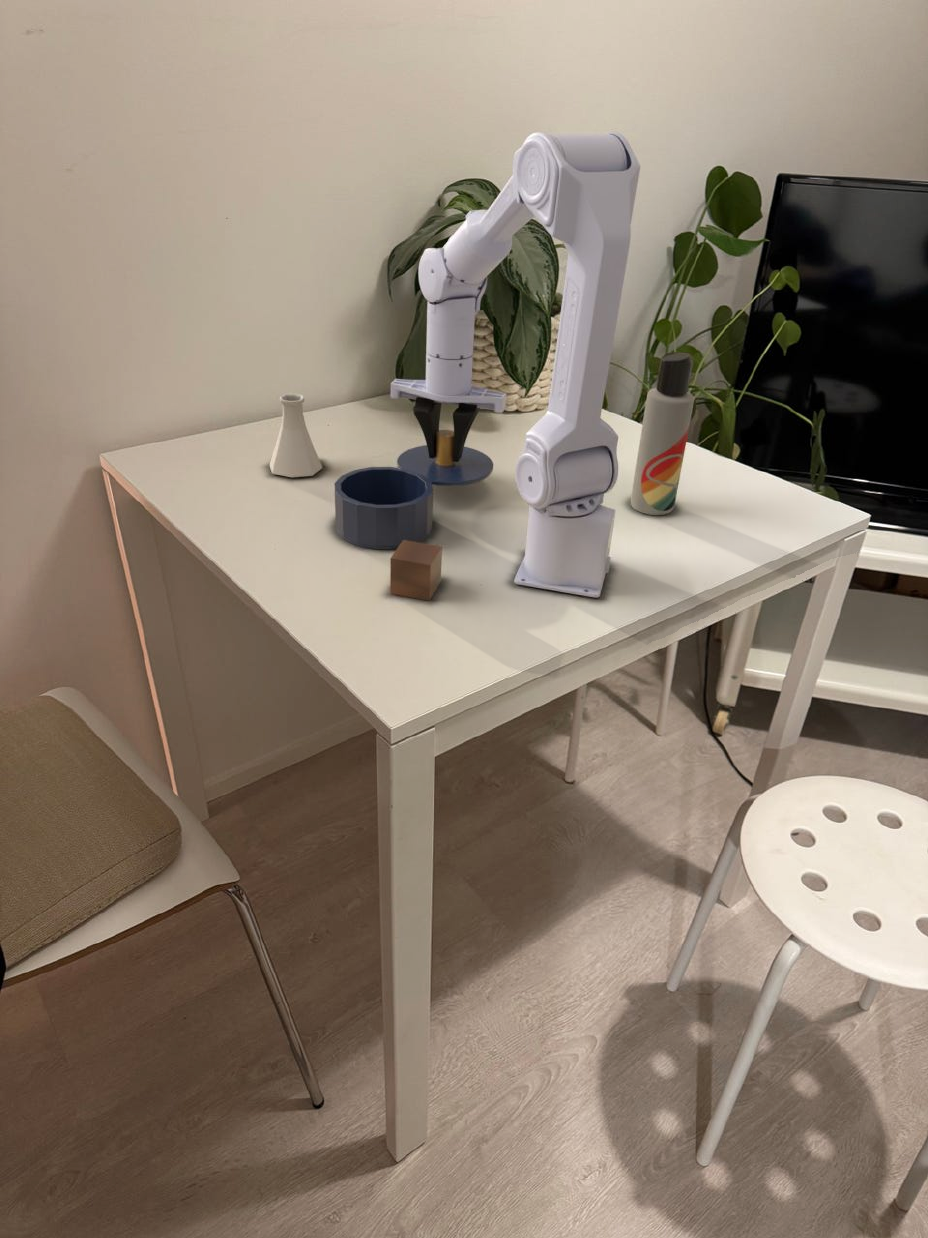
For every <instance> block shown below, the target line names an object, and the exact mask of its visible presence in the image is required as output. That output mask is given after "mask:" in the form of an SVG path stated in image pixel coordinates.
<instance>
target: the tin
mask: <svg viewBox="0 0 928 1238" xmlns="http://www.w3.org/2000/svg"><path fill="white" fill-rule="evenodd" d="M333 486H334V514H335V530H336V533H337V534H338V536H339V537H340V538H341V539H343V540H344V541H345V542H346V543H347V542H348V543H349V544H350V545H351V544H352V545H354V546H356V547H360V548H365V549H372V550H397V548H398V547H399V545H400V544H401V543H402V541H403V540H407V541H413V542H419V543H422V542H423V541H425V540H426V539H427V538H428V537H429V536H430V534H431V532H432V528H433V519H434V518H433V517H434V516H433V513H434V488H433V487H434V485H432V482H431V481H430V480H428V479H427V478H426V477H425V476H423V475H422V474H419V473H417V472H414V471H411V470H408V469H402V468H398V467H395V466H369V467H363V468H359V469H354V470H352V471H349V472H347V473H344V474H341V476H340V477H339V478H338V479H336V480H335V482H334V484H333Z"/></svg>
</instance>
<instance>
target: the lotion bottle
mask: <svg viewBox="0 0 928 1238" xmlns="http://www.w3.org/2000/svg"><path fill="white" fill-rule="evenodd" d="M693 364H694V361H693V359H692V355H691V354H690V353H686V352H668V353H665V354H663V355H662V356H661V358H660V362H659V369H658V376H657V380H656V381H657V382H656V387H655V388H651V389H649V390H648V392H647V394H646V401H645V406H644V412H643V418H642V425H641V433H640V437H639V444H638V450H637V456H636V463H635V470H634V475H633V483H632V489H631V497H630V505H631V507H632V508H633V509H634V510H635V511H637V512H640V513H641V514H645V515H651V516H664V515H667V514H670V513H671V512H672V511H673V510H674V508H675V503H676V499H677V494H678V489H679V484H680V478H681V473H682V468H683V462H684V457H685V451H686V447H687V440H688V436H689V429H690V425H691V420H692V414H693V408H694V403H695V396H694V395H693V394H692V393H691V392H689V391H688V390H689V385H690V379H691V376H692V370H693Z"/></svg>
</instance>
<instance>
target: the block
mask: <svg viewBox="0 0 928 1238" xmlns="http://www.w3.org/2000/svg"><path fill="white" fill-rule="evenodd" d="M442 559H443V546H442V545H438V544H432V543H431V544H430V543H425V542H413V541H407V540H403V541H402V543H401V544H400V545H399V547H398V548H397V549H395V550H394V553H393V554H392V555H391V556H390V561H389V562H390V564H389V567H390V568H389V569H390V571H389V573H390V584H389V585H390V587H389V588H390V592H389V593H390V594H389V595H394V596H402V597H404V598H411V599H417V600H422V601H429V602H430V601H431V599H432V597H433V596H434V594H435V592H436V590H437V589H438V587H439V585H440V584H441V582H442V563H443V562H442Z"/></svg>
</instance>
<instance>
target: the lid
mask: <svg viewBox="0 0 928 1238" xmlns="http://www.w3.org/2000/svg"><path fill="white" fill-rule="evenodd" d="M453 446H454V430H452V429H439V431H437V432H436V457H435V458H434V459H433V458H429V453H428V448H427V444H425V445H419V446H416V447H415V446H414V447H412V448H409V449H406V450H404V451H403V452H402V453H401V454H400V455H399V456H398V457H397V459H396V468H402V469H408V470H411V471H414V472H417V473H419V474H422V475H423V476H425V477H426V478H427V479H428V480H430V481H431V482H432V486H444V487H456V486H457V487H458V486H466V485H471V484H472V485H473V484H475V483H479V482H481V481H483V480H486V479H487V478H488V477H489V476H491V475H492V473H493V472H494V462H493V460H492V458H491V457H489V455H487V454H486V453H484V452H483V451H480V450H477V449H476V448H472V447H468V446H464V448H463V453H462V457H461V459H460V460H459V462H453Z"/></svg>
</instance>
